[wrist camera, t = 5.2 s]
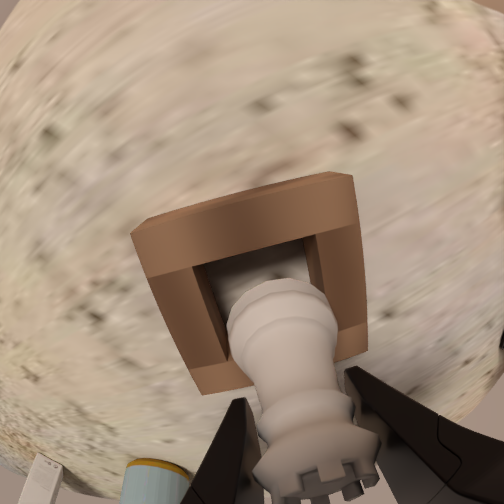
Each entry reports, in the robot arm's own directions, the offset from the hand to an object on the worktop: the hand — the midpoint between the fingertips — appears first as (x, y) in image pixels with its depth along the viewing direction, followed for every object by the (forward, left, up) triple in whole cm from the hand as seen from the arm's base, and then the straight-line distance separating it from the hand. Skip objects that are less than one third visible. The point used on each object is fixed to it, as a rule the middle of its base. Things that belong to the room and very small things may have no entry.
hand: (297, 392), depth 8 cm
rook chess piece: (0, 0, -5) cm, 5 cm away
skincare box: (+36, +22, -9) cm, 43 cm away
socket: (0, 0, -9) cm, 9 cm away
